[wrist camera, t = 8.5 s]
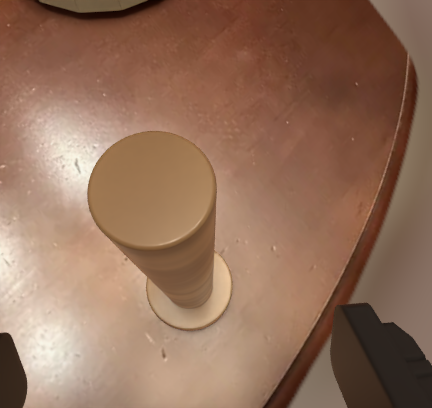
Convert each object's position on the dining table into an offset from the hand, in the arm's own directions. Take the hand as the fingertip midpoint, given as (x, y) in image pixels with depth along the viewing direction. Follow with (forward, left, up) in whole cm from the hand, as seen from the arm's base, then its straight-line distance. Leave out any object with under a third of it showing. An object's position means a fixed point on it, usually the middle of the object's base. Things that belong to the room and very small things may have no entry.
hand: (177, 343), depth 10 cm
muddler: (0, -3, -11) cm, 12 cm away
